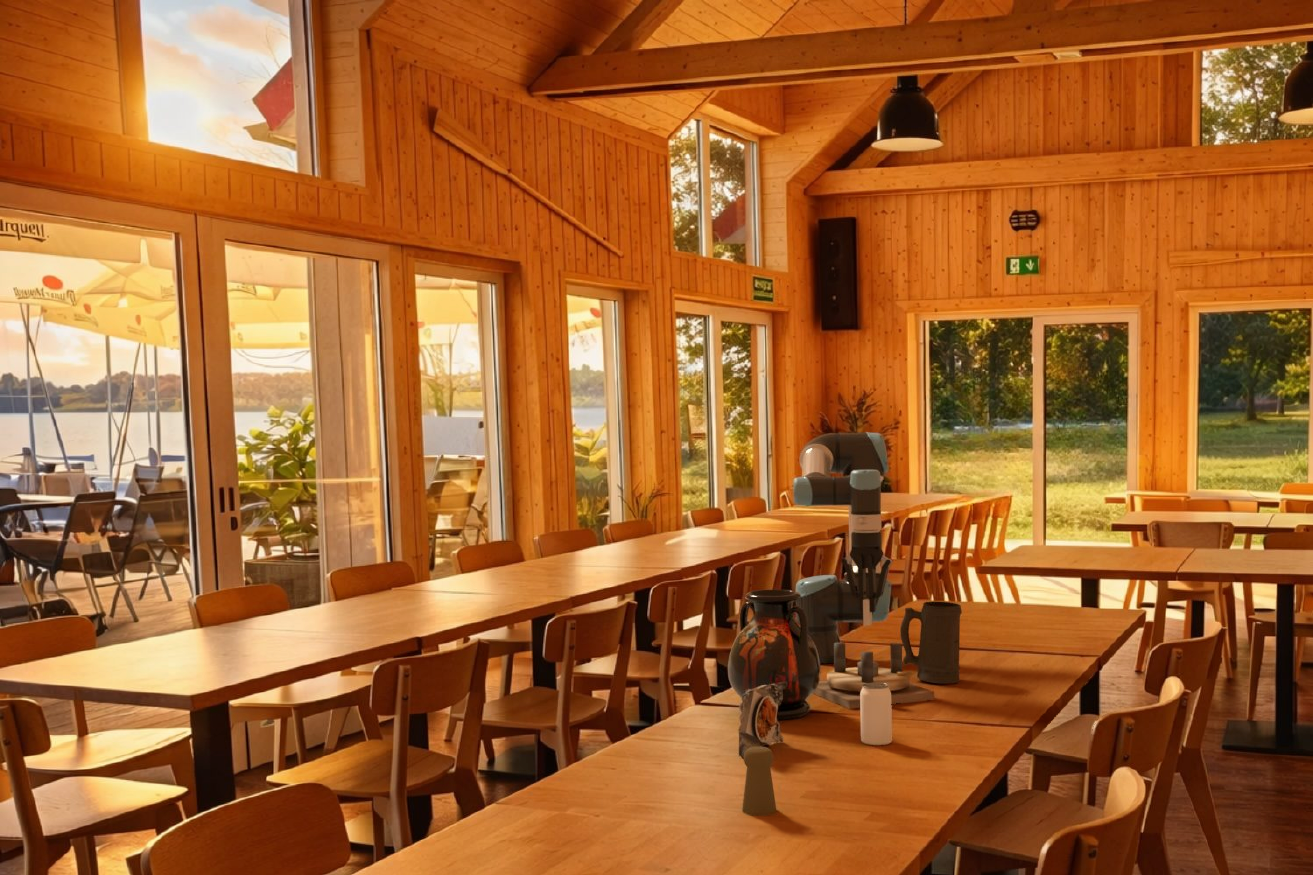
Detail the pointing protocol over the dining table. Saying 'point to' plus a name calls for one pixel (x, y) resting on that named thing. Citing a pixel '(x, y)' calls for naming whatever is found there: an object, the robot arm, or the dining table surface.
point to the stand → (853, 697)
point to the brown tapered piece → (758, 782)
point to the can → (876, 714)
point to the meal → (760, 717)
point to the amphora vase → (775, 651)
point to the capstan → (868, 670)
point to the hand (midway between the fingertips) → (867, 624)
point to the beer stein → (935, 641)
